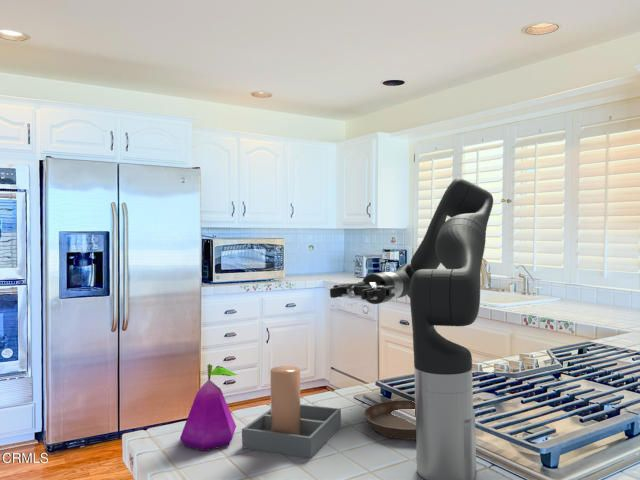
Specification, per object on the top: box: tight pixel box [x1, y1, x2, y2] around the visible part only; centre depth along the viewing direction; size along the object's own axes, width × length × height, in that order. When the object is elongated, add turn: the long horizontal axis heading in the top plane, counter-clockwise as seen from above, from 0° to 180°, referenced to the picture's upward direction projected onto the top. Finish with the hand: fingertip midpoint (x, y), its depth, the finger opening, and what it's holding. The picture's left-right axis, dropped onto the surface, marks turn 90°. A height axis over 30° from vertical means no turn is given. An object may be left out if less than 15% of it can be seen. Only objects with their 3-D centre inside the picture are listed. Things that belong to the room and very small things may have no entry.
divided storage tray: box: [241, 403, 342, 459], centre depth 99 cm, size 14×16×4 cm
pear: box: [179, 363, 238, 452], centre depth 98 cm, size 11×11×15 cm
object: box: [363, 399, 416, 440], centre depth 103 cm, size 18×18×3 cm
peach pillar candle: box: [269, 365, 301, 435], centre depth 96 cm, size 6×6×13 cm
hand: (346, 294), depth 114 cm, fingers open, 8 cm apart
